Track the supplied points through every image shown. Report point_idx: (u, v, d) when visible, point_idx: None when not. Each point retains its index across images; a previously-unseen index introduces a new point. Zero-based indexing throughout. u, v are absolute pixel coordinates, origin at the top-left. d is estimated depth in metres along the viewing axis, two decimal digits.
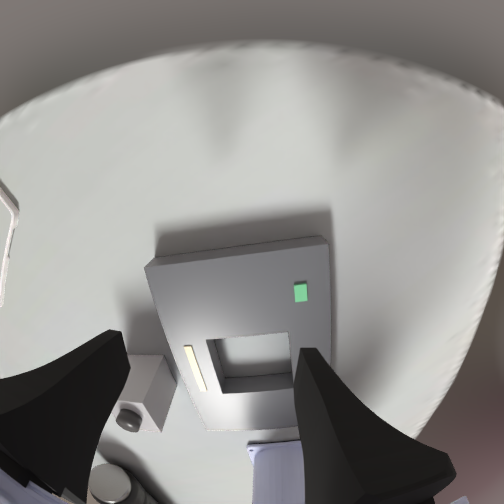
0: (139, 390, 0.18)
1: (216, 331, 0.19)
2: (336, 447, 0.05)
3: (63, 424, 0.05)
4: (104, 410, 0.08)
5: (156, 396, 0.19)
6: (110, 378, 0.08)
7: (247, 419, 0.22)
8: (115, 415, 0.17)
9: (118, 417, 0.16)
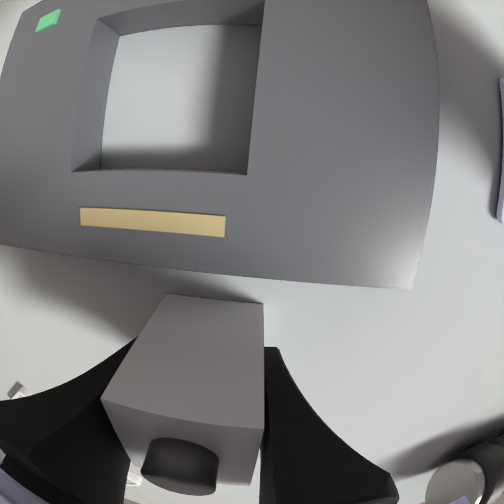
0: None
1: (59, 146, 0.07)
2: (270, 451, 0.05)
3: (102, 440, 0.05)
4: None
5: (172, 360, 0.07)
6: None
7: (387, 145, 0.07)
8: None
9: (149, 479, 0.05)
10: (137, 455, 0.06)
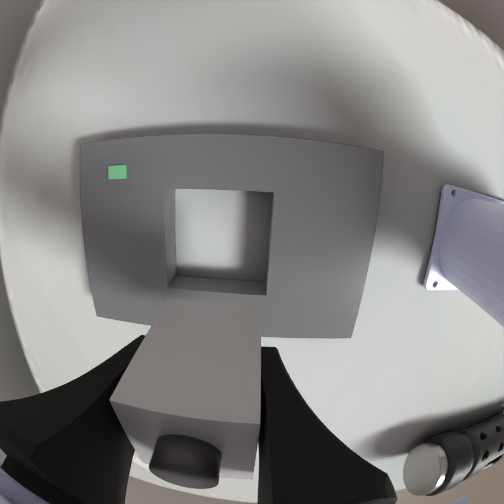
0: None
1: (156, 272, 0.16)
2: (267, 450, 0.05)
3: (103, 440, 0.05)
4: None
5: (175, 361, 0.08)
6: None
7: (336, 275, 0.15)
8: None
9: (157, 474, 0.06)
10: (145, 452, 0.07)
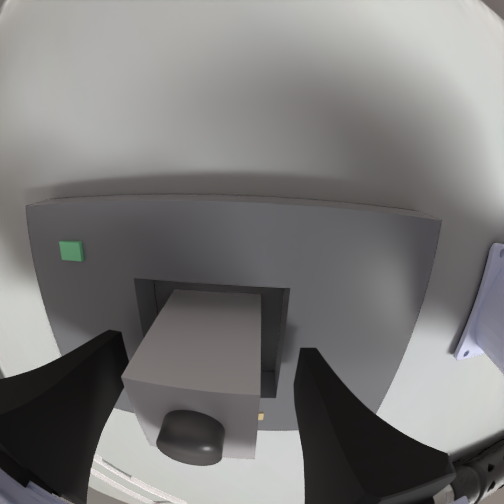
0: None
1: None
2: (336, 447, 0.05)
3: (63, 424, 0.05)
4: (104, 410, 0.08)
5: (182, 343, 0.08)
6: (110, 378, 0.08)
7: (362, 374, 0.11)
8: None
9: (163, 451, 0.06)
10: (152, 433, 0.07)
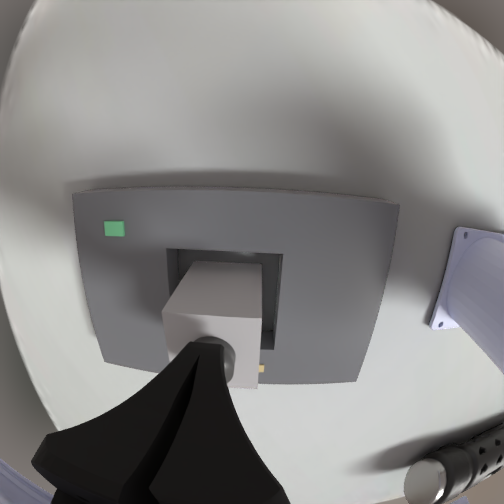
0: None
1: (163, 328, 0.15)
2: None
3: None
4: None
5: (204, 291, 0.12)
6: None
7: (343, 330, 0.15)
8: None
9: None
10: None
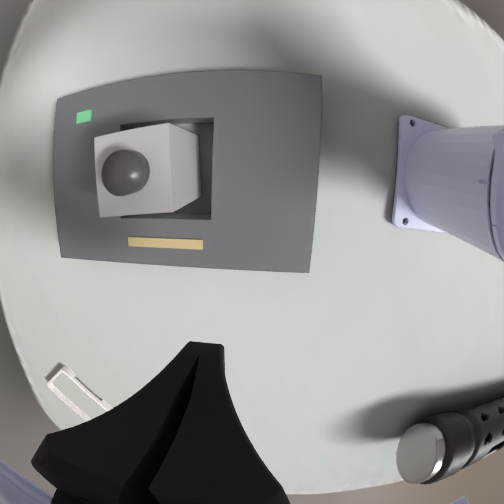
0: None
1: None
2: None
3: None
4: None
5: None
6: None
7: (282, 197, 0.15)
8: (137, 208, 0.12)
9: (104, 184, 0.10)
10: (103, 194, 0.11)
